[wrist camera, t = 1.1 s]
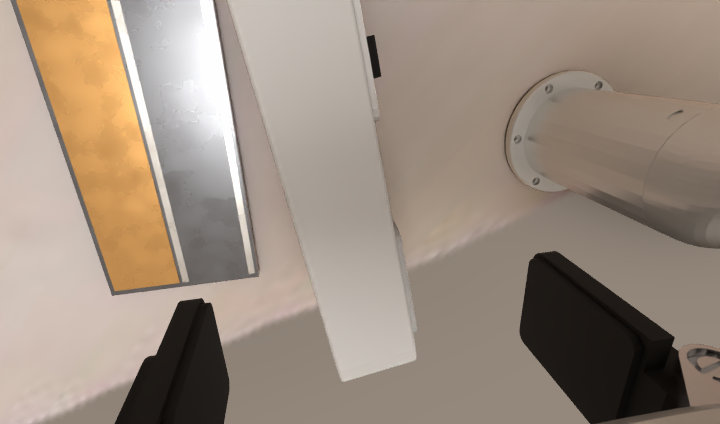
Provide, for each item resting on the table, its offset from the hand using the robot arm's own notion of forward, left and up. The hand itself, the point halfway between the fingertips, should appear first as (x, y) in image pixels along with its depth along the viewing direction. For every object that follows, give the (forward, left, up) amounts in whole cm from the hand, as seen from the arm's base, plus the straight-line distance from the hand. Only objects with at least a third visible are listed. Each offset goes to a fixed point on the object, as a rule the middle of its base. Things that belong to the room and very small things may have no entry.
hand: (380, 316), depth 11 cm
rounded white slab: (0, 0, -28) cm, 28 cm away
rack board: (+14, +1, -28) cm, 31 cm away
